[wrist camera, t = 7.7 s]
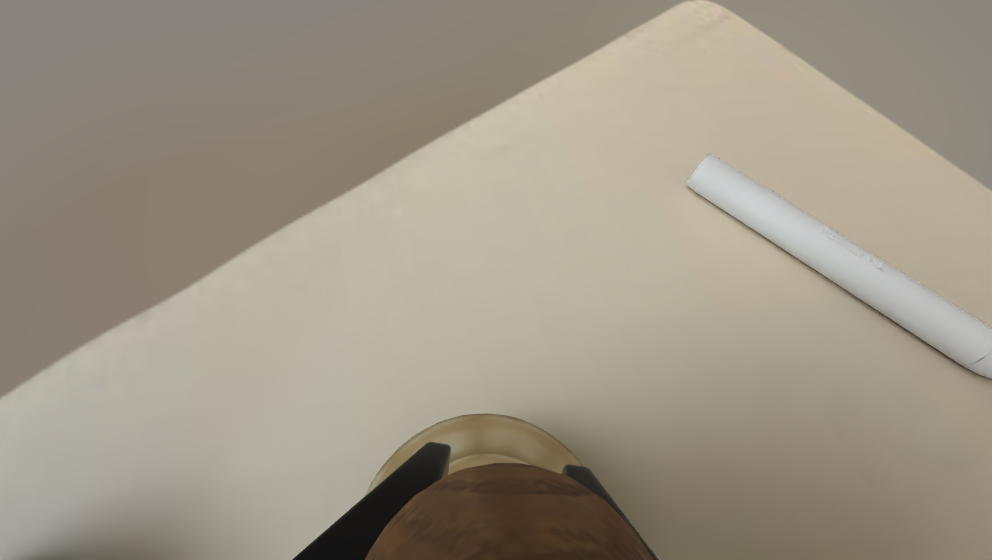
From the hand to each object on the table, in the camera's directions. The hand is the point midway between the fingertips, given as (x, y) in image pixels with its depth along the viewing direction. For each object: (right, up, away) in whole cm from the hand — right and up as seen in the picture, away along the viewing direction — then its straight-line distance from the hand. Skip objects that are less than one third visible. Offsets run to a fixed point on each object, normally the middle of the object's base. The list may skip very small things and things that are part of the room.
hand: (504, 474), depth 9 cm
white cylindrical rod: (+18, +3, +18) cm, 25 cm away
